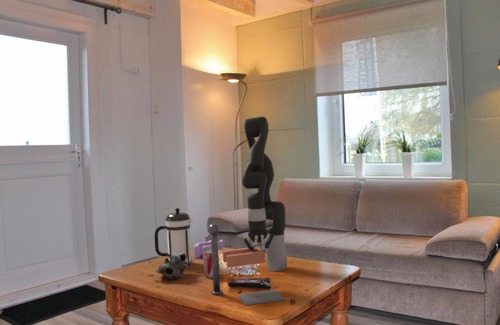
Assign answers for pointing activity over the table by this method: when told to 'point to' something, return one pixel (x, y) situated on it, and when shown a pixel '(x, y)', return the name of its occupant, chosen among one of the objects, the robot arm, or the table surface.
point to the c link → (243, 257)
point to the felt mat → (261, 297)
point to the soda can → (208, 264)
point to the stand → (215, 259)
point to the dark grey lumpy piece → (174, 266)
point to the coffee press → (176, 235)
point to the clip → (205, 248)
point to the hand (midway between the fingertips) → (259, 258)
